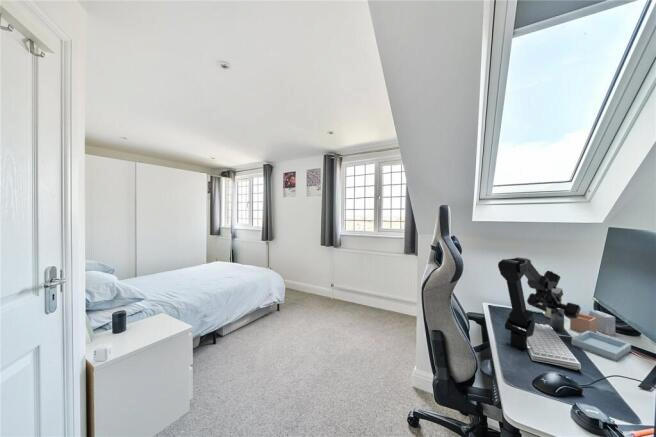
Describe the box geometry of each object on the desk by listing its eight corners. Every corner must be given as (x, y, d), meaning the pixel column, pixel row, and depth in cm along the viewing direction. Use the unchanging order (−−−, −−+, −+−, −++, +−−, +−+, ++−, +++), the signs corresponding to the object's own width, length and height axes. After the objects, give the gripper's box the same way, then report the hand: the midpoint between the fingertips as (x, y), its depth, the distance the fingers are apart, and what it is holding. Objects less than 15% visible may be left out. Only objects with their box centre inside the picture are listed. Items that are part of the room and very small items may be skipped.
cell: (561, 332, 116) (561, 308, 116) (548, 328, 121) (549, 304, 121) (565, 330, 119) (566, 306, 118) (553, 326, 123) (553, 303, 123)
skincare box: (553, 319, 131) (553, 297, 130) (544, 316, 135) (544, 294, 135) (561, 318, 133) (562, 296, 132) (552, 315, 137) (552, 293, 136)
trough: (615, 361, 94) (616, 353, 94) (571, 344, 106) (571, 338, 106) (630, 351, 101) (631, 344, 101) (587, 336, 113) (587, 330, 113)
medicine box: (615, 335, 114) (616, 317, 114) (606, 335, 114) (606, 317, 114) (597, 327, 122) (597, 310, 122) (588, 327, 122) (588, 310, 122)
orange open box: (589, 335, 114) (590, 320, 114) (570, 329, 120) (570, 315, 120) (596, 332, 117) (596, 318, 117) (576, 326, 123) (576, 312, 123)
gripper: (579, 287, 108) (589, 307, 113) (530, 277, 125) (541, 295, 130) (570, 308, 105) (581, 327, 110) (521, 295, 122) (532, 312, 127)
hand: (557, 314), depth 120 cm, fingers open, 9 cm apart
